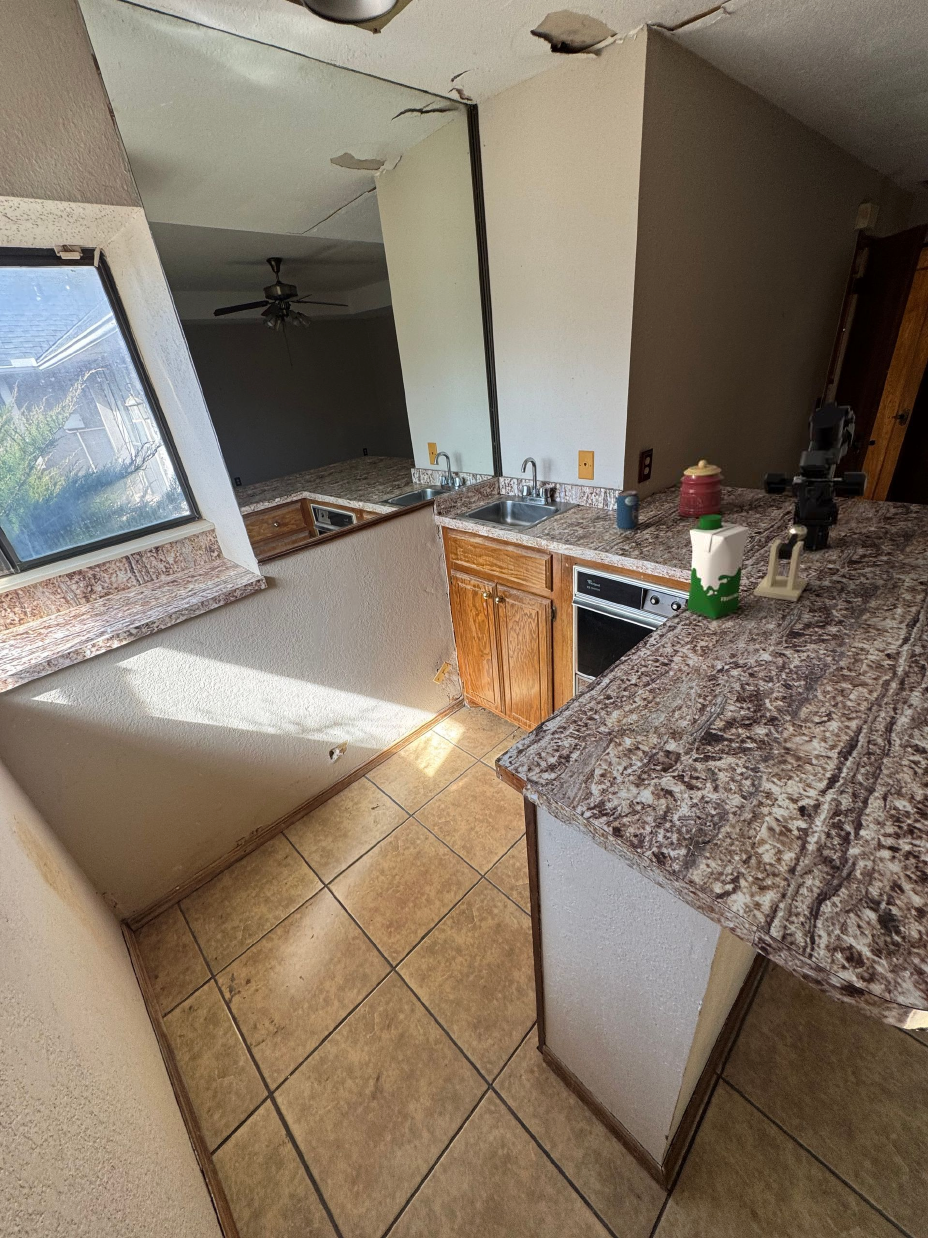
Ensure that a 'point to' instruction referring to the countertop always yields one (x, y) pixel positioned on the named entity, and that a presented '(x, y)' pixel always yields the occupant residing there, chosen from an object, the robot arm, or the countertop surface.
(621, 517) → the soda can
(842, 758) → the countertop surface
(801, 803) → the countertop surface
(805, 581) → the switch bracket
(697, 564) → the milk carton
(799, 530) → the switch lever
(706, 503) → the kitchen canister
